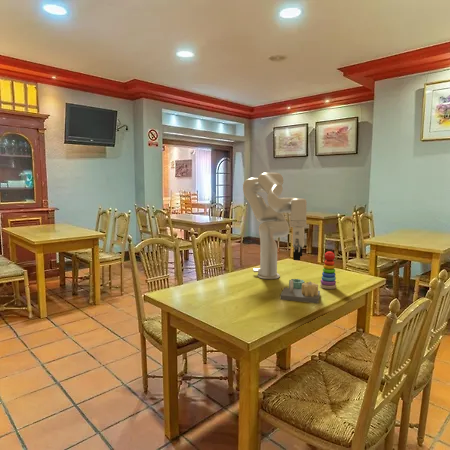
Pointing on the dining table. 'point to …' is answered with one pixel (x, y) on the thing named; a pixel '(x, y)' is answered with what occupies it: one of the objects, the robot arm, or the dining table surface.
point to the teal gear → (297, 283)
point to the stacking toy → (328, 272)
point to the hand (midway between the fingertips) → (297, 258)
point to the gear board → (301, 293)
